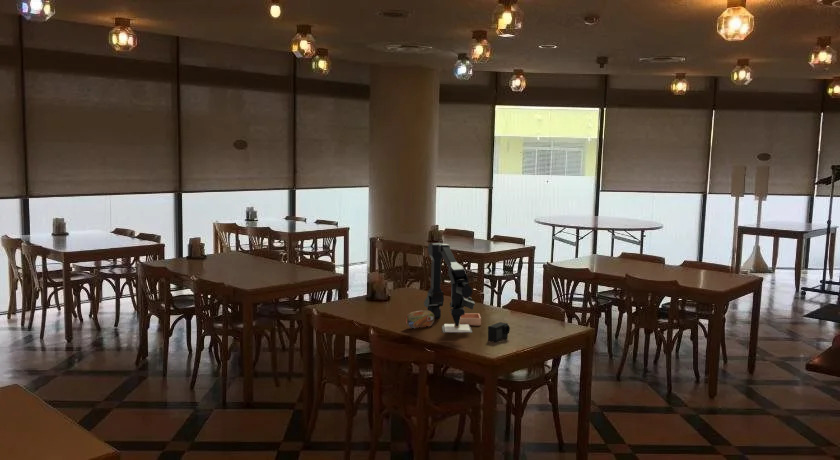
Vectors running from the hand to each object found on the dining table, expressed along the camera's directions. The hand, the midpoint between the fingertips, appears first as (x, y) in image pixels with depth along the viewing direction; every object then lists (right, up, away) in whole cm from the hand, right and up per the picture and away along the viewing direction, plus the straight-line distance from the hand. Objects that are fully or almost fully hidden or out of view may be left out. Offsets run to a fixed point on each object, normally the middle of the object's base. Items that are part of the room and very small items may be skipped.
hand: (456, 325), depth 348 cm
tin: (-18, -2, +5) cm, 19 cm away
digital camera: (+19, -5, -17) cm, 26 cm away
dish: (+7, -1, +13) cm, 14 cm away
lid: (0, -2, 0) cm, 2 cm away
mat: (0, -2, 0) cm, 2 cm away
